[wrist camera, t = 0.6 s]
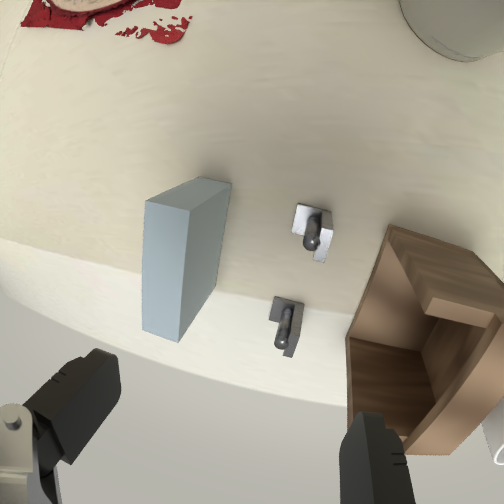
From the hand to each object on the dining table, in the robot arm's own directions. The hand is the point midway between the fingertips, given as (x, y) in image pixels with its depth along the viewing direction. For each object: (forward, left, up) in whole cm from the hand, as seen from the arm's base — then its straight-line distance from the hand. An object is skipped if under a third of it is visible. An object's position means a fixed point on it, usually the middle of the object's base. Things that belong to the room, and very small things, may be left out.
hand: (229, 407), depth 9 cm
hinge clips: (+4, +3, -19) cm, 19 cm away
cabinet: (+4, +12, -19) cm, 23 cm away
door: (+3, -7, -19) cm, 20 cm away
